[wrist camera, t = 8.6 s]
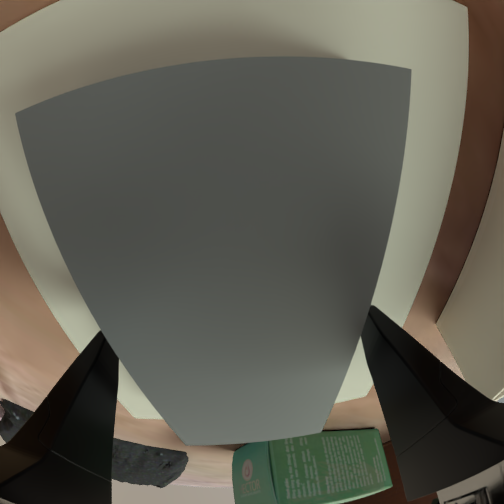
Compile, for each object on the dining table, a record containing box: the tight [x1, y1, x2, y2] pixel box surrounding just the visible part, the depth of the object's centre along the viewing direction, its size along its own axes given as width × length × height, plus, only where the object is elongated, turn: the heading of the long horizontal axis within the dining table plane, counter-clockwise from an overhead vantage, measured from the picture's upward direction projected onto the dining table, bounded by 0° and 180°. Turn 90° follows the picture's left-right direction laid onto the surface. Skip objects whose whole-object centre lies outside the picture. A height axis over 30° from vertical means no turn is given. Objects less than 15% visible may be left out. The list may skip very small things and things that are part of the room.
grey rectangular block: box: [15, 56, 412, 445], centre depth 10 cm, size 7×16×3 cm, turn 3°
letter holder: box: [340, 441, 438, 504], centre depth 28 cm, size 10×20×14 cm, turn 113°
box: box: [232, 429, 393, 504], centre depth 22 cm, size 7×14×8 cm, turn 64°
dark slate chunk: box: [0, 399, 188, 488], centre depth 23 cm, size 15×22×5 cm
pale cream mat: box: [0, 0, 469, 419], centre depth 11 cm, size 16×22×1 cm
